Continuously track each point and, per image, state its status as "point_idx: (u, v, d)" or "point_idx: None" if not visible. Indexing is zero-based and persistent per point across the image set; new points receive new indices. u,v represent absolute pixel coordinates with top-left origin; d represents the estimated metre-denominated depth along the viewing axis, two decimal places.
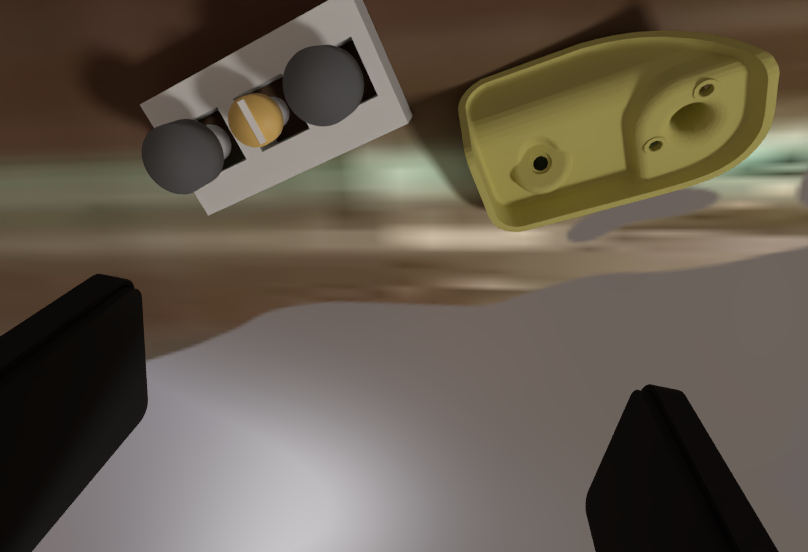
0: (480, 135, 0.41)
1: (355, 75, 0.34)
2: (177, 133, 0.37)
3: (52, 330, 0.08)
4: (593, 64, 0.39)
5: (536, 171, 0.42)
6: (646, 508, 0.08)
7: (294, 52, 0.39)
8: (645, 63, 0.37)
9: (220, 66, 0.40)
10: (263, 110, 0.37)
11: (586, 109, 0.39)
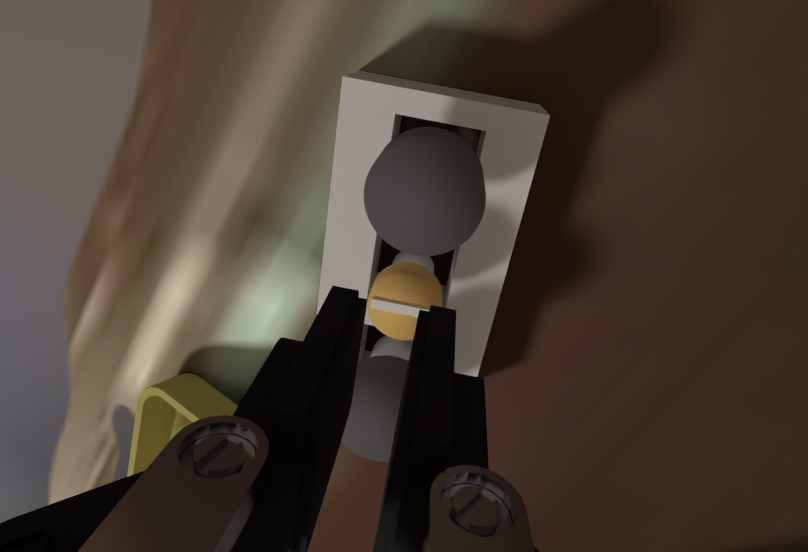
0: None
1: (367, 458, 0.28)
2: (453, 234, 0.22)
3: (337, 337, 0.09)
4: None
5: None
6: None
7: None
8: None
9: (502, 260, 0.28)
10: (406, 329, 0.26)
11: None
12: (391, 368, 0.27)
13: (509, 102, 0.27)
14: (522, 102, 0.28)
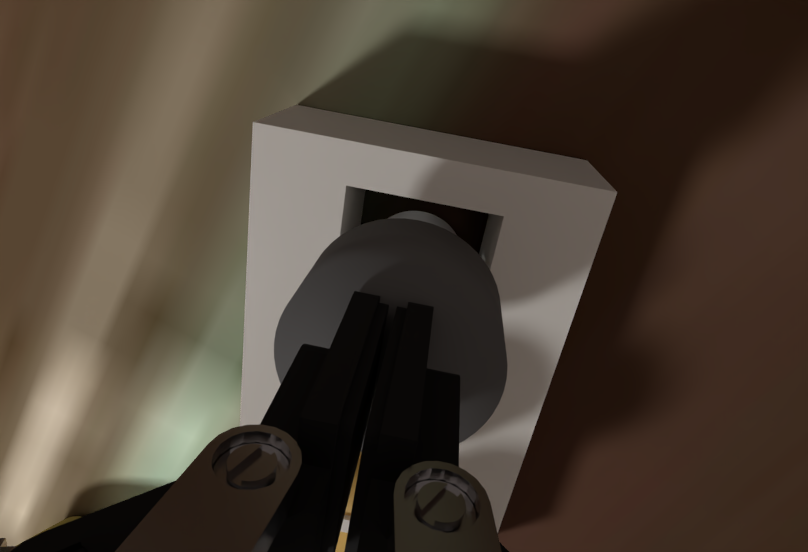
0: None
1: None
2: None
3: (363, 344, 0.09)
4: None
5: None
6: None
7: None
8: None
9: (527, 413, 0.17)
10: None
11: None
12: None
13: (541, 161, 0.16)
14: (560, 158, 0.17)
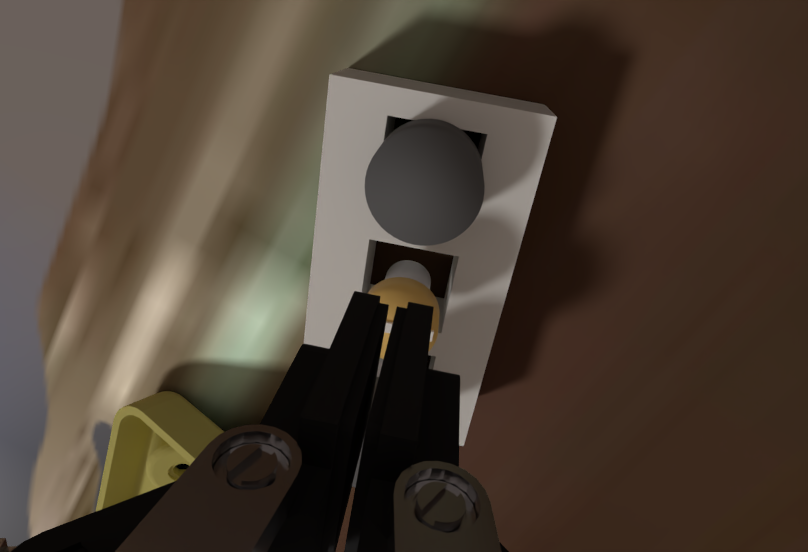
0: None
1: None
2: (452, 224, 0.23)
3: (363, 344, 0.09)
4: None
5: (175, 464, 0.36)
6: None
7: (450, 361, 0.29)
8: None
9: (504, 273, 0.26)
10: None
11: None
12: None
13: (512, 102, 0.25)
14: (526, 102, 0.26)
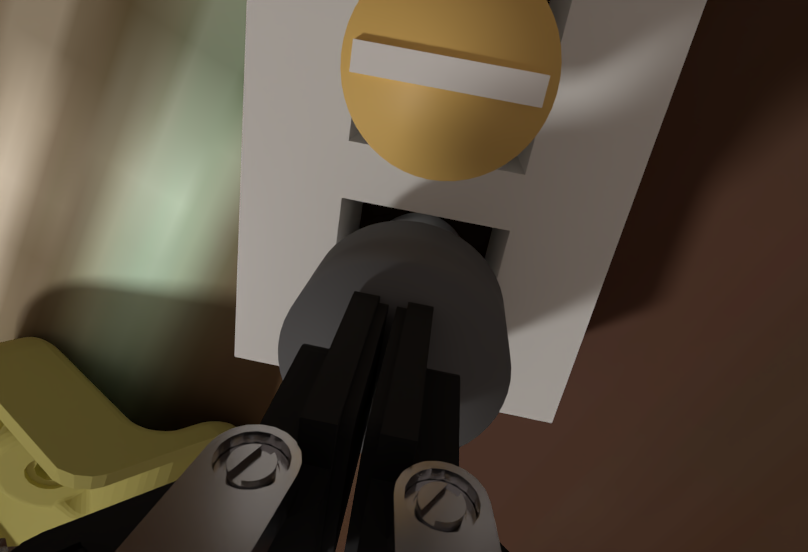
0: None
1: (360, 451, 0.12)
2: None
3: (363, 344, 0.09)
4: None
5: None
6: None
7: (539, 242, 0.14)
8: None
9: (683, 11, 0.11)
10: (454, 146, 0.09)
11: None
12: (416, 238, 0.11)
13: None
14: None
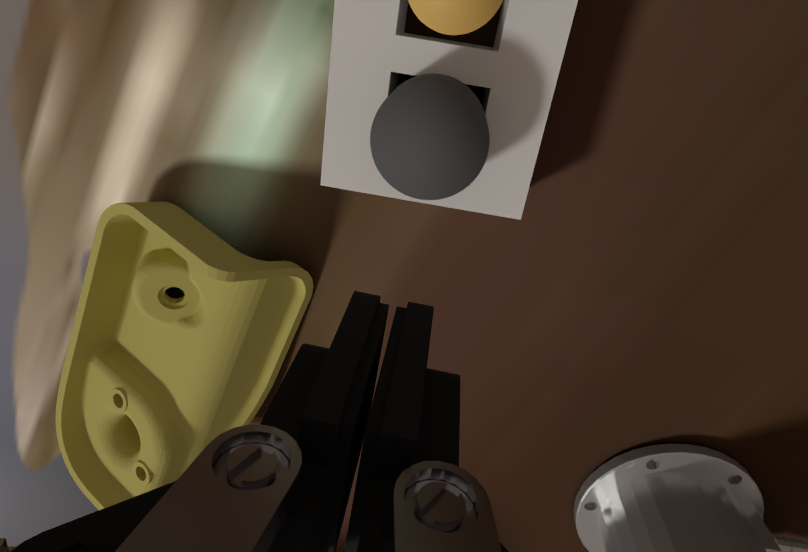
0: None
1: None
2: None
3: (363, 344, 0.09)
4: (241, 392, 0.35)
5: (166, 286, 0.31)
6: None
7: (508, 94, 0.23)
8: (206, 435, 0.35)
9: None
10: (459, 16, 0.19)
11: (197, 378, 0.32)
12: (439, 76, 0.22)
13: None
14: None
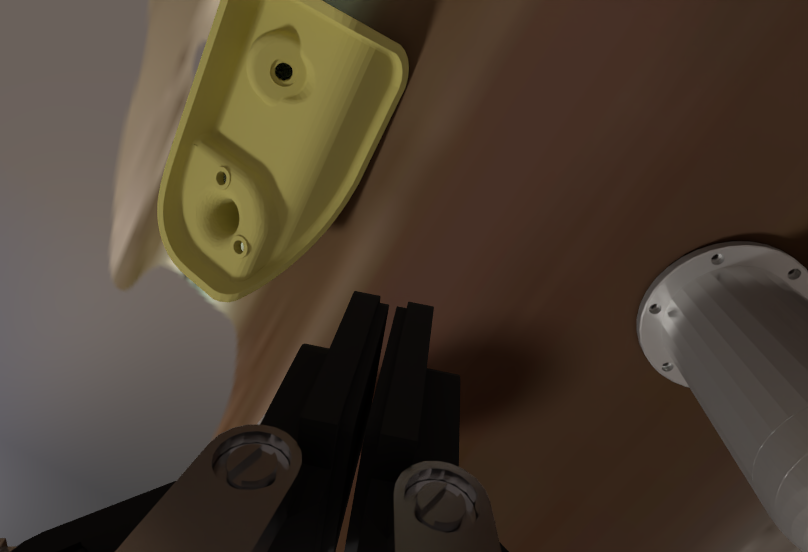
0: (357, 44, 0.33)
1: None
2: None
3: (363, 344, 0.09)
4: (332, 183, 0.38)
5: (278, 61, 0.34)
6: None
7: None
8: (298, 220, 0.38)
9: None
10: None
11: (299, 153, 0.35)
12: None
13: None
14: None
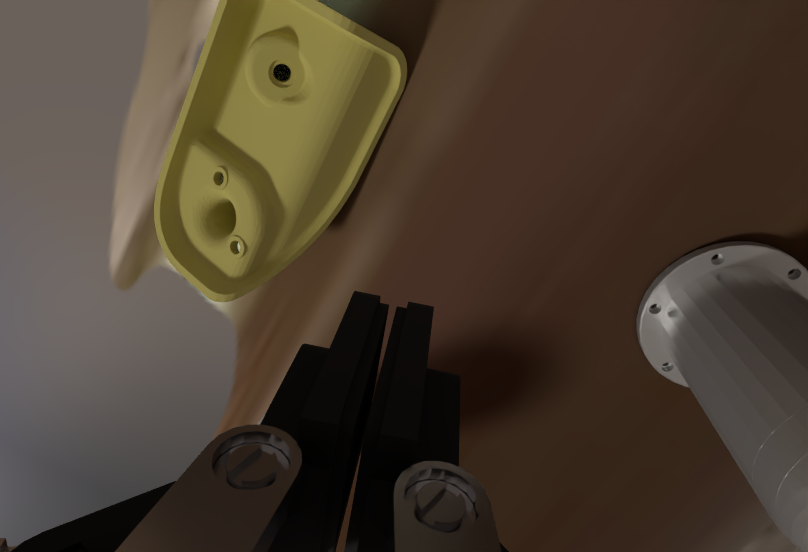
0: (355, 46, 0.33)
1: None
2: None
3: (363, 344, 0.09)
4: (329, 184, 0.38)
5: (276, 62, 0.34)
6: None
7: None
8: (295, 221, 0.38)
9: None
10: None
11: (296, 154, 0.35)
12: None
13: None
14: None
